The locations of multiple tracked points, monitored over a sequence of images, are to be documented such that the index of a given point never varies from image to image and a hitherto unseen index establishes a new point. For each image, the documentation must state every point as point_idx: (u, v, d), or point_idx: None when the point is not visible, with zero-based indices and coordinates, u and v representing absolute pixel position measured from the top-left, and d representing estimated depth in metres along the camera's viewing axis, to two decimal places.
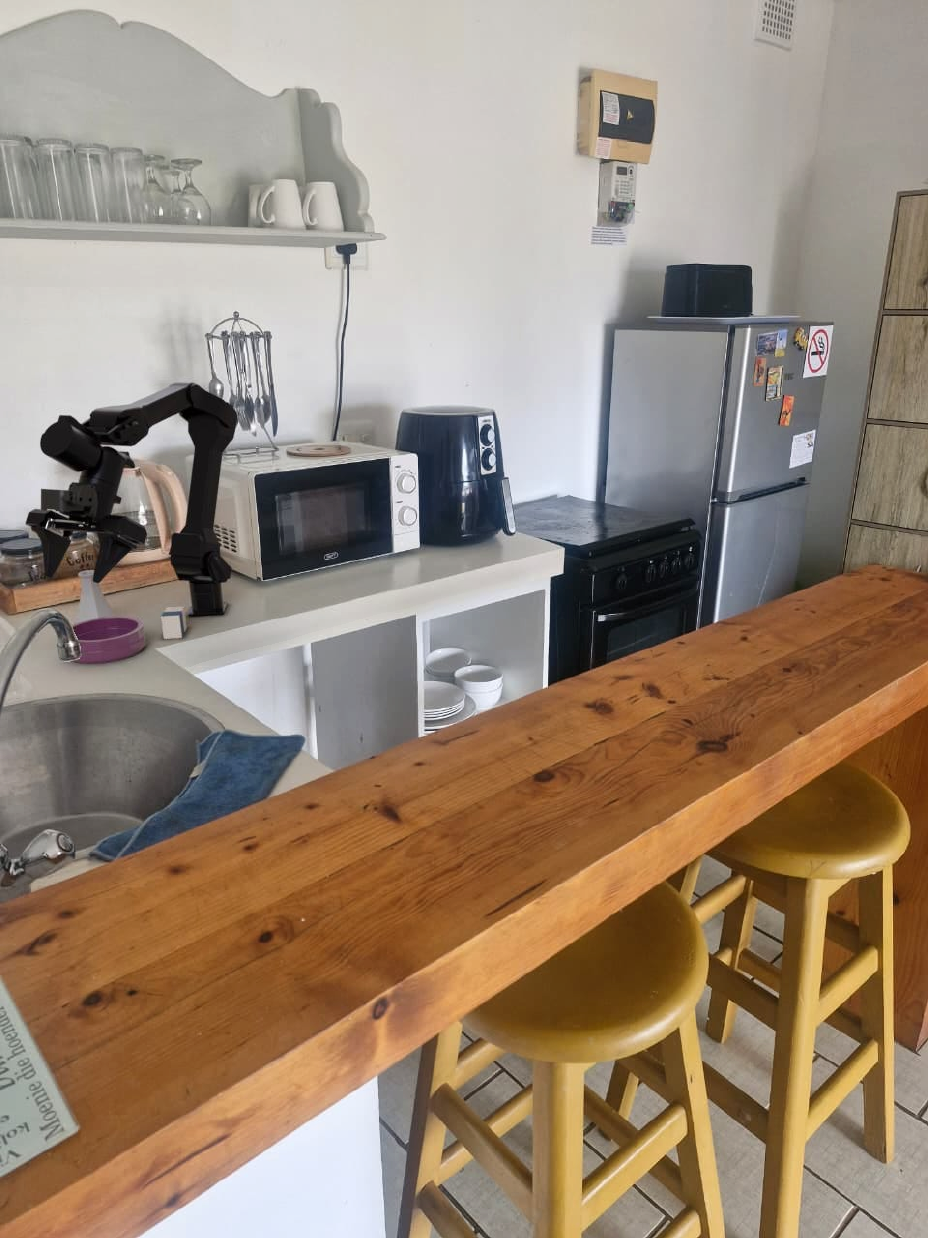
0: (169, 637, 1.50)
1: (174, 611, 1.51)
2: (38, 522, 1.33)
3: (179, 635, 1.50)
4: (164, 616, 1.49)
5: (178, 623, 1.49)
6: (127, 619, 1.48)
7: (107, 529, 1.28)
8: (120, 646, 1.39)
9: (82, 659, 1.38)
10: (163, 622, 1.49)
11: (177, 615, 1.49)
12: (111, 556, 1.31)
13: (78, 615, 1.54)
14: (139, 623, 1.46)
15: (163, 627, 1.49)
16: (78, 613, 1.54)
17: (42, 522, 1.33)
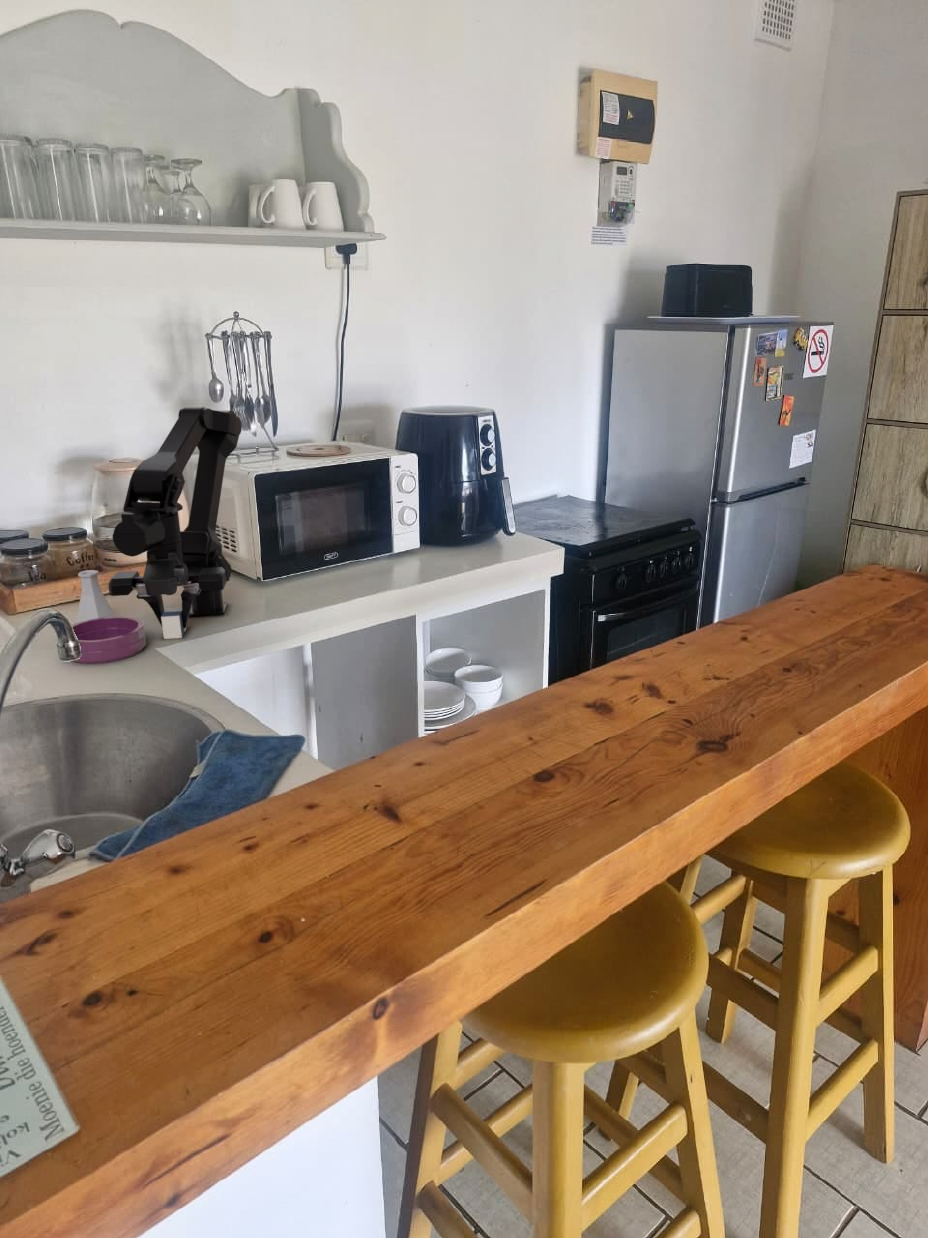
0: (169, 637, 1.50)
1: (174, 611, 1.51)
2: (126, 593, 1.46)
3: (179, 635, 1.50)
4: (164, 616, 1.49)
5: (178, 623, 1.49)
6: (127, 619, 1.48)
7: (208, 590, 1.48)
8: (120, 646, 1.39)
9: (82, 659, 1.38)
10: (163, 622, 1.49)
11: (177, 615, 1.49)
12: None
13: (78, 615, 1.54)
14: (139, 623, 1.46)
15: (163, 627, 1.49)
16: (78, 613, 1.54)
17: (130, 592, 1.46)
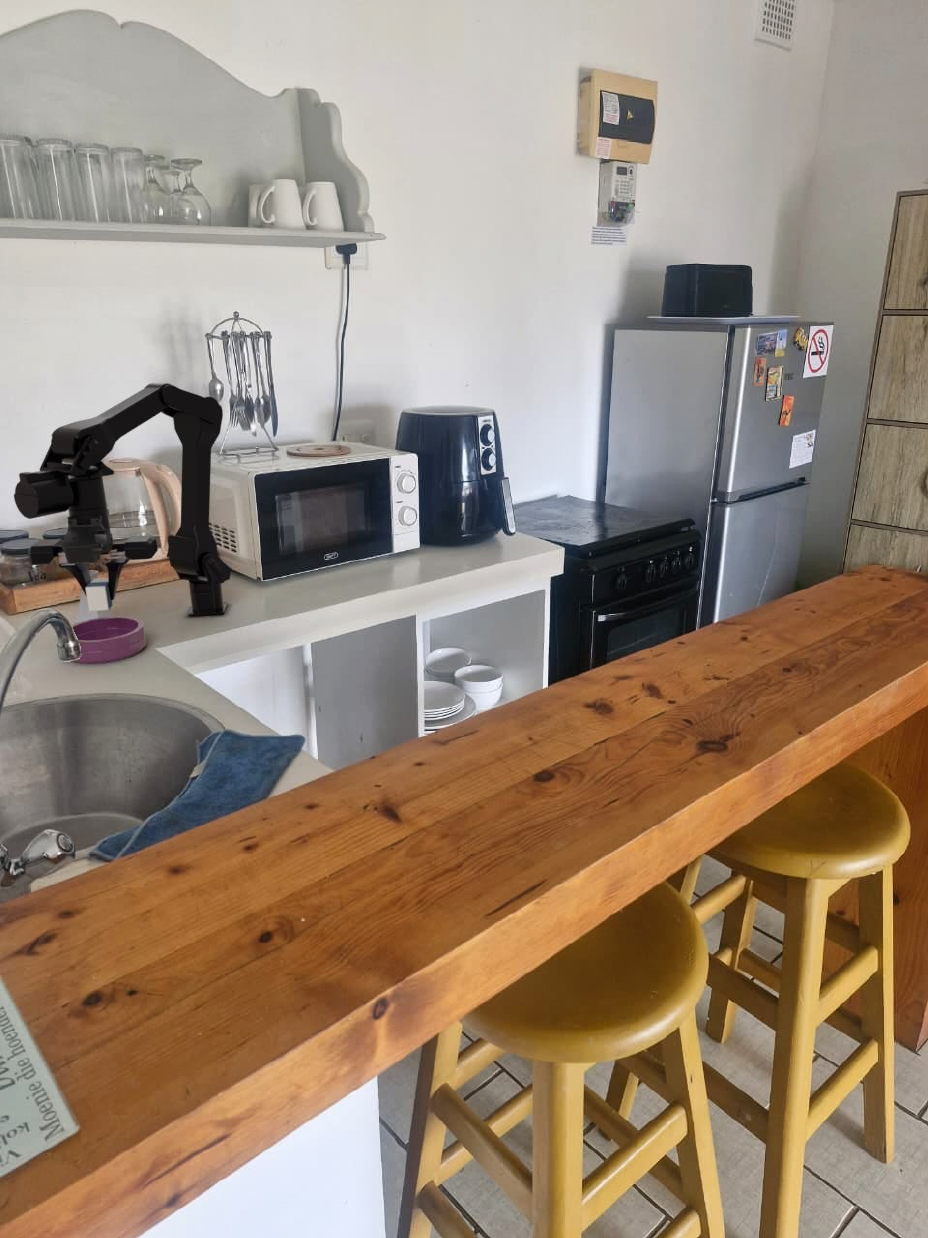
0: (95, 609, 1.41)
1: (101, 582, 1.42)
2: (47, 561, 1.37)
3: (105, 607, 1.41)
4: (89, 586, 1.40)
5: (104, 594, 1.40)
6: (127, 619, 1.48)
7: (135, 558, 1.39)
8: (120, 646, 1.39)
9: (82, 659, 1.38)
10: (88, 593, 1.40)
11: (103, 585, 1.40)
12: None
13: (78, 615, 1.54)
14: (139, 623, 1.46)
15: (88, 598, 1.40)
16: (78, 613, 1.54)
17: None
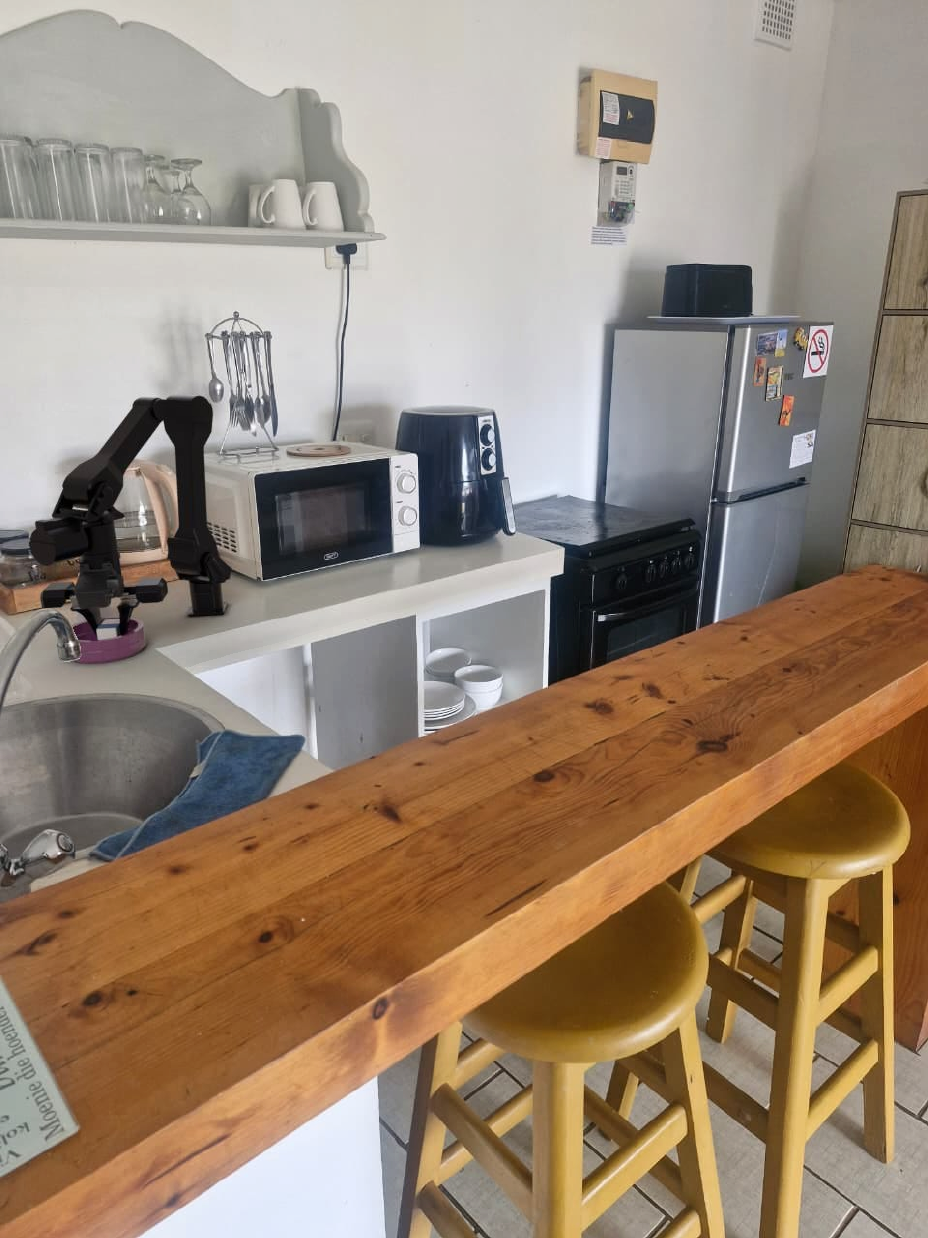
0: None
1: (111, 623, 1.43)
2: (59, 605, 1.38)
3: None
4: (100, 628, 1.41)
5: (115, 636, 1.41)
6: None
7: (146, 602, 1.40)
8: (120, 646, 1.39)
9: (82, 659, 1.38)
10: (99, 635, 1.41)
11: (114, 627, 1.42)
12: None
13: (78, 615, 1.54)
14: (139, 623, 1.46)
15: None
16: (78, 613, 1.54)
17: (63, 604, 1.39)
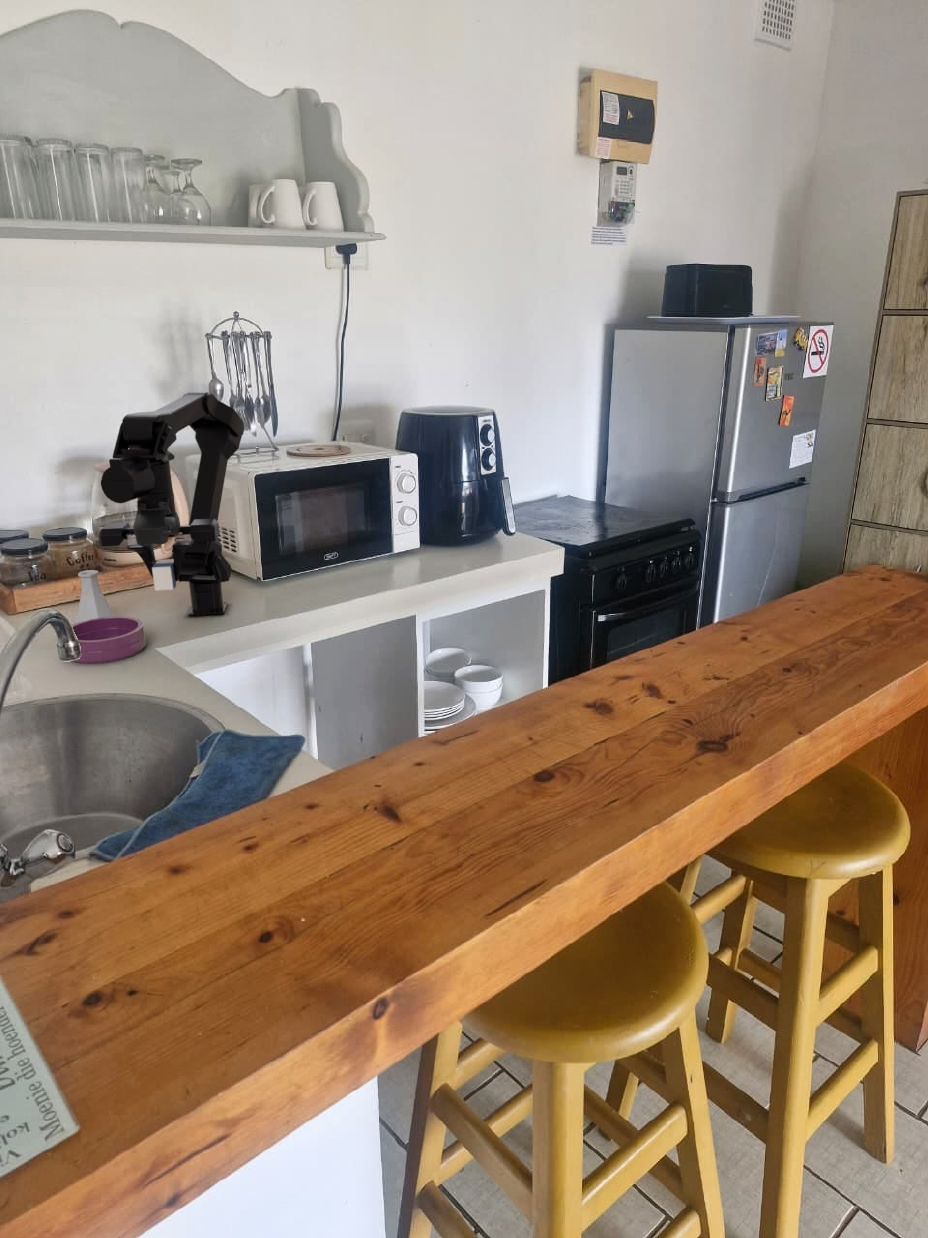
0: (160, 589, 1.46)
1: (165, 563, 1.48)
2: (117, 543, 1.43)
3: (170, 587, 1.47)
4: (155, 567, 1.46)
5: (169, 574, 1.46)
6: (127, 619, 1.48)
7: (200, 541, 1.45)
8: (120, 646, 1.39)
9: (82, 659, 1.38)
10: (154, 573, 1.45)
11: (169, 566, 1.46)
12: None
13: (78, 615, 1.54)
14: (139, 623, 1.46)
15: (154, 578, 1.46)
16: (78, 613, 1.54)
17: (121, 542, 1.43)
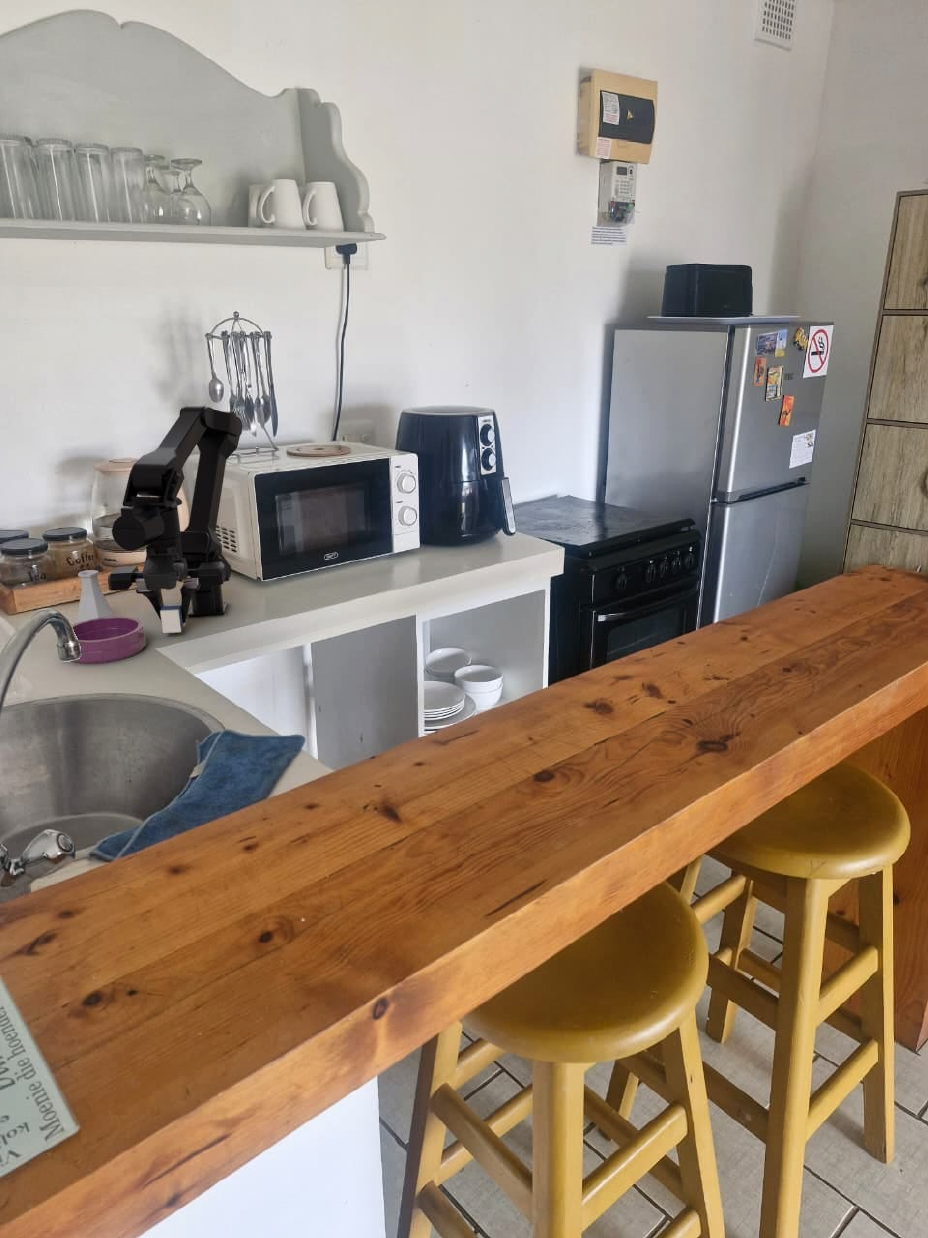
0: (168, 631, 1.49)
1: (173, 605, 1.51)
2: (126, 588, 1.46)
3: (178, 629, 1.49)
4: (163, 610, 1.48)
5: (177, 617, 1.49)
6: (127, 619, 1.48)
7: (208, 585, 1.47)
8: (120, 646, 1.39)
9: (82, 659, 1.38)
10: (162, 616, 1.48)
11: (176, 609, 1.49)
12: None
13: (78, 615, 1.54)
14: (139, 623, 1.46)
15: (162, 621, 1.48)
16: (78, 613, 1.54)
17: (130, 586, 1.46)
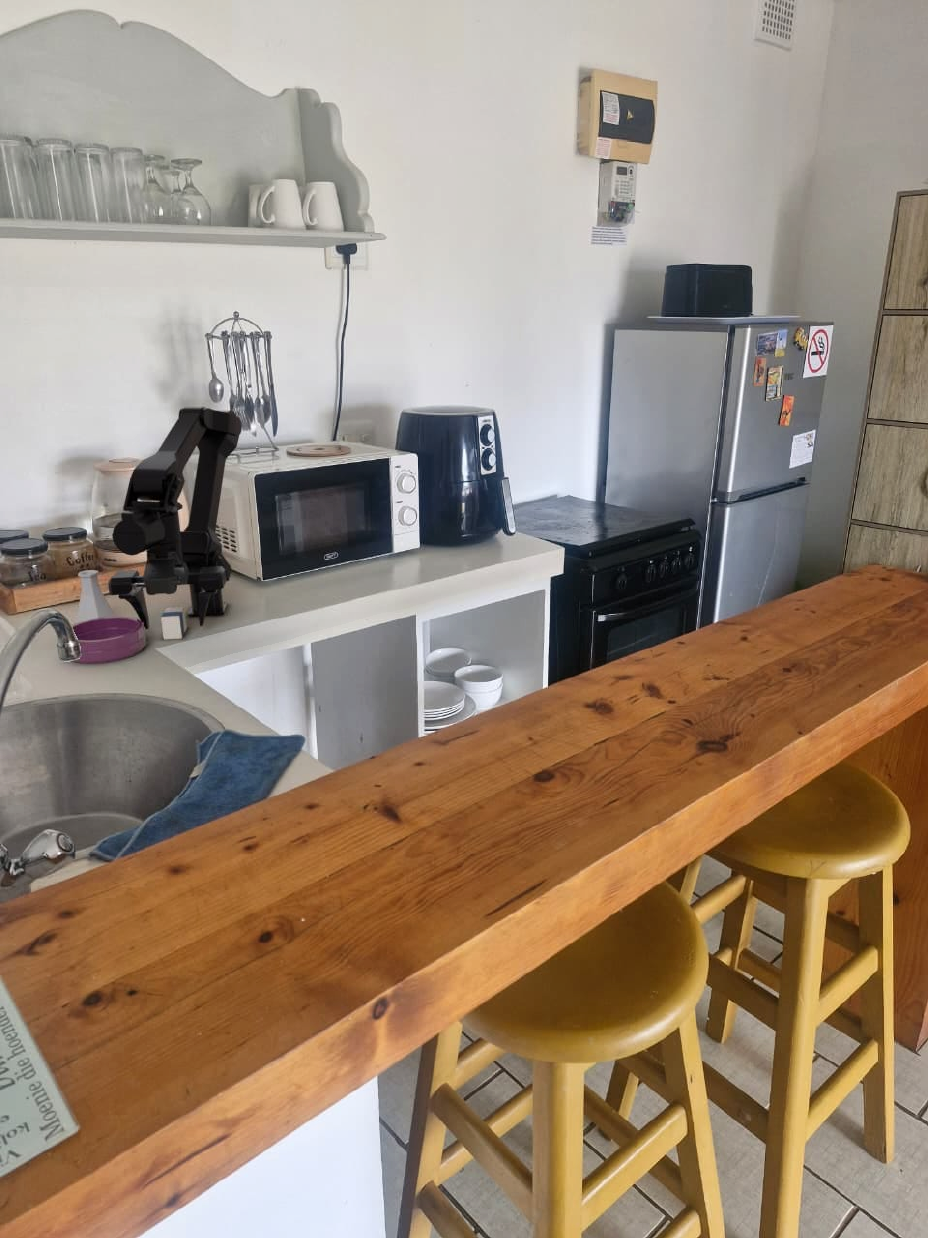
0: (169, 637, 1.49)
1: (174, 611, 1.51)
2: (126, 592, 1.46)
3: (179, 635, 1.50)
4: (164, 616, 1.49)
5: (178, 623, 1.49)
6: (127, 619, 1.48)
7: (208, 589, 1.48)
8: (120, 646, 1.39)
9: (82, 659, 1.38)
10: (163, 622, 1.48)
11: (177, 615, 1.49)
12: None
13: (78, 615, 1.54)
14: (139, 623, 1.46)
15: (163, 627, 1.49)
16: (78, 613, 1.54)
17: (130, 591, 1.46)
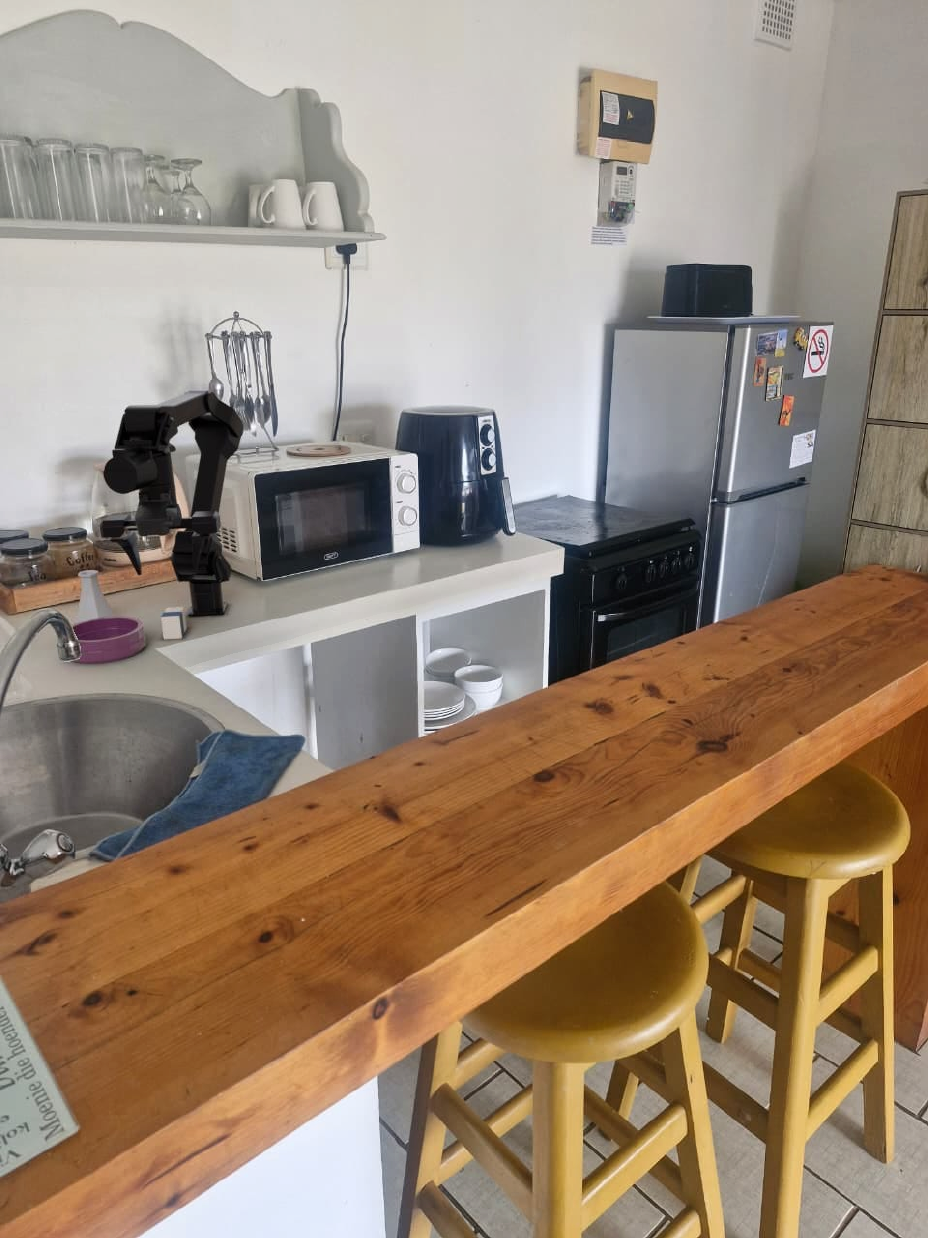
0: (169, 637, 1.49)
1: (174, 611, 1.51)
2: (118, 535, 1.43)
3: (179, 635, 1.50)
4: (164, 616, 1.49)
5: (178, 623, 1.49)
6: (127, 619, 1.48)
7: (202, 532, 1.44)
8: (120, 646, 1.39)
9: (82, 659, 1.38)
10: (163, 622, 1.48)
11: (177, 615, 1.49)
12: None
13: (78, 615, 1.54)
14: (139, 623, 1.46)
15: (163, 627, 1.49)
16: (78, 613, 1.54)
17: (122, 534, 1.43)
